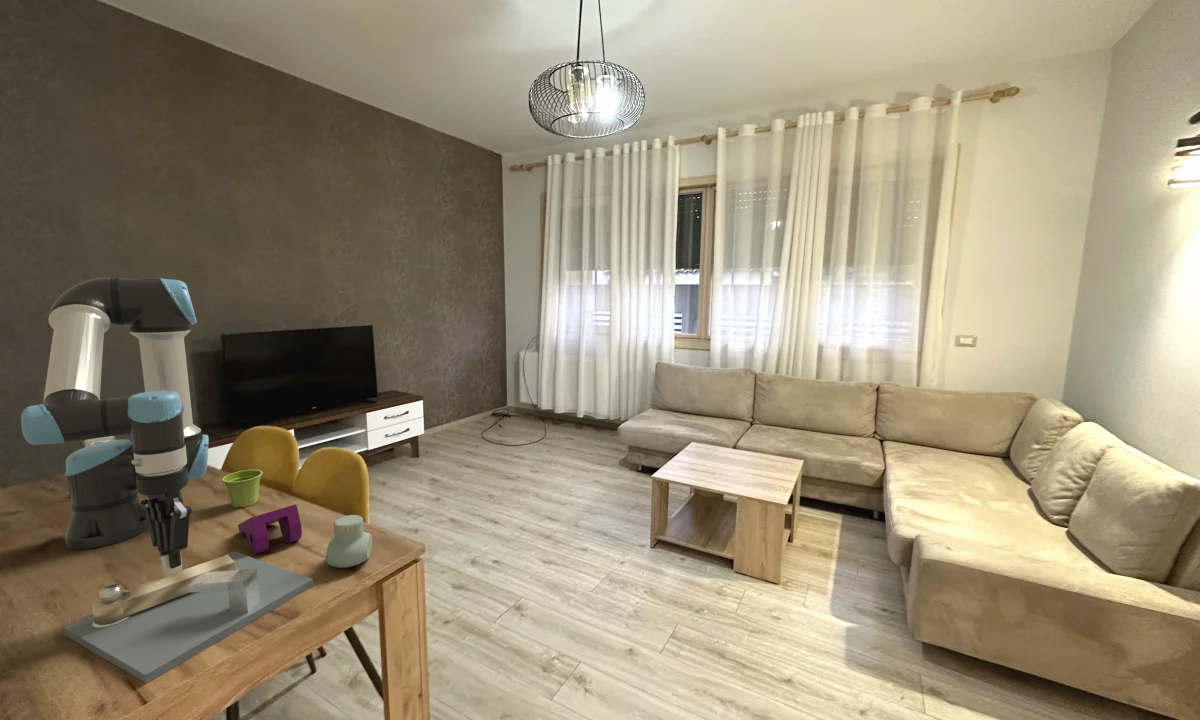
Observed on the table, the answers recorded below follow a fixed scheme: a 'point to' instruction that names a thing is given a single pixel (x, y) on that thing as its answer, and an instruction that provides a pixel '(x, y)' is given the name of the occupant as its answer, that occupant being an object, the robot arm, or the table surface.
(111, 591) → the cylinder
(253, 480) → the plant pot
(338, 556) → the air freshener
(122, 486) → the robot arm
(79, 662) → the table surface
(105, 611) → the brass bar
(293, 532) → the mounting bracket
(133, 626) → the slate board
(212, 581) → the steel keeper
